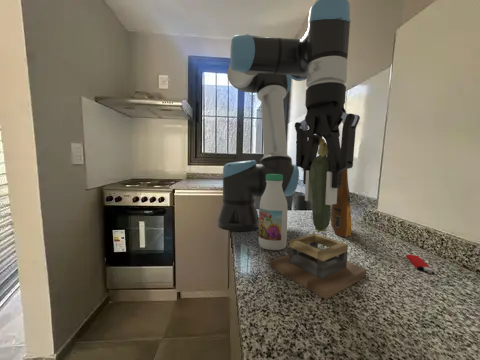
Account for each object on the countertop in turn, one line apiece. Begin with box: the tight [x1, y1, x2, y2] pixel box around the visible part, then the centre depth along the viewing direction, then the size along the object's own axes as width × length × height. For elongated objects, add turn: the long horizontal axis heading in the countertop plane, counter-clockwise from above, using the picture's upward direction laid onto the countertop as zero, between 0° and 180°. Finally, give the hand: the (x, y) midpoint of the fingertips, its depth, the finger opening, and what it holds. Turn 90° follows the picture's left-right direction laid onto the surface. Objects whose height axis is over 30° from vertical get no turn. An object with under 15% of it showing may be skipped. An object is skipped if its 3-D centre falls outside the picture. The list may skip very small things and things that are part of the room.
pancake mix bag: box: [330, 169, 353, 238], centre depth 76 cm, size 7×19×28 cm, turn 165°
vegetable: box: [310, 137, 331, 233], centre depth 47 cm, size 4×4×20 cm
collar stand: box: [269, 232, 368, 300], centre depth 48 cm, size 14×14×6 cm
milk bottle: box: [258, 174, 289, 251], centre depth 62 cm, size 8×8×20 cm
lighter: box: [405, 254, 436, 275], centre depth 52 cm, size 3×1×8 cm
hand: (320, 201), depth 47 cm, fingers closed on vegetable, 4 cm apart
